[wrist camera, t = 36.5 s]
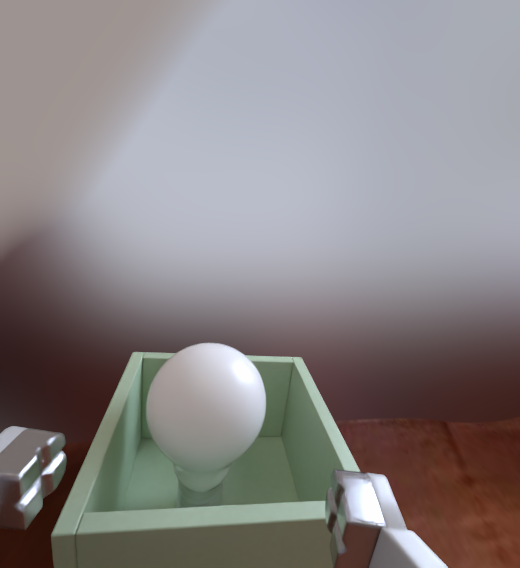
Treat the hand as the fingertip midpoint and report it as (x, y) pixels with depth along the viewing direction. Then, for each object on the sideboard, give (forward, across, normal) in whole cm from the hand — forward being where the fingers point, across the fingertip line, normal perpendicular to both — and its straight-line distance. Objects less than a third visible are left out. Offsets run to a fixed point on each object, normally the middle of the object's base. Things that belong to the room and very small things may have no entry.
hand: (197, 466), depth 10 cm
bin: (+8, 0, +12) cm, 14 cm away
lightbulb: (+7, +1, +11) cm, 13 cm away
